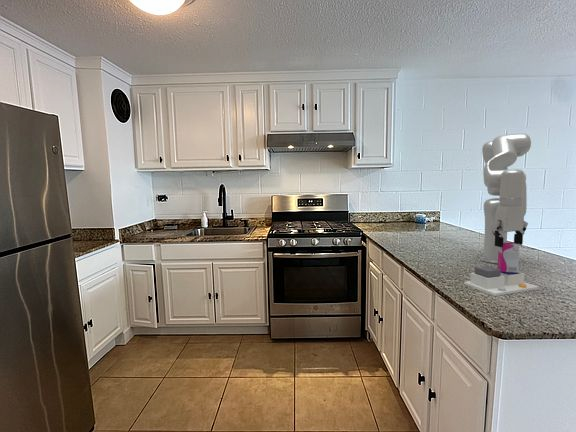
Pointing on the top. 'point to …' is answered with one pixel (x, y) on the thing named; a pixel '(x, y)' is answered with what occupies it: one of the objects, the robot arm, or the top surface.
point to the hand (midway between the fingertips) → (508, 245)
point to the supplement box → (508, 258)
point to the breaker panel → (500, 284)
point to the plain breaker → (487, 271)
